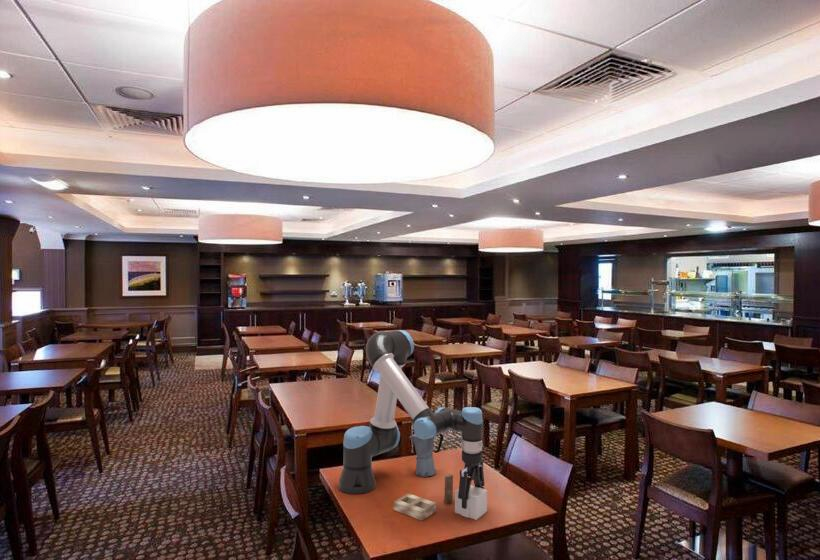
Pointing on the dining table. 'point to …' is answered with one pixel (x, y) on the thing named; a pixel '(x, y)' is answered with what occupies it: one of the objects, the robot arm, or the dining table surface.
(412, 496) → the socket board
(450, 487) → the peg
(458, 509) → the white cube block
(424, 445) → the moka pot
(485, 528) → the dining table surface
